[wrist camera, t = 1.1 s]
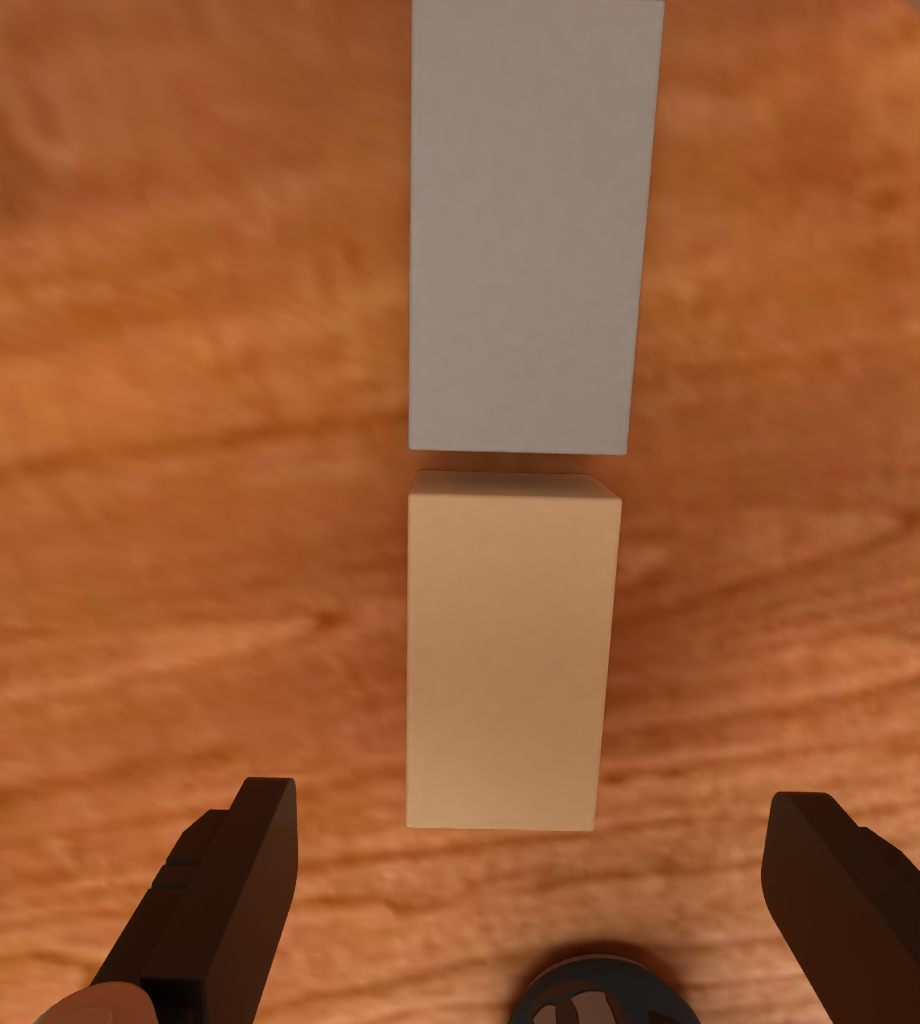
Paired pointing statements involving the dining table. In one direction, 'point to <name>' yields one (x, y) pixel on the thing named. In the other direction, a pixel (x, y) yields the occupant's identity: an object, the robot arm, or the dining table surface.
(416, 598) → the cream pad
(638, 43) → the blue-grey pad
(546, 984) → the soda can
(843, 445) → the dining table surface
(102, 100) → the dining table surface
